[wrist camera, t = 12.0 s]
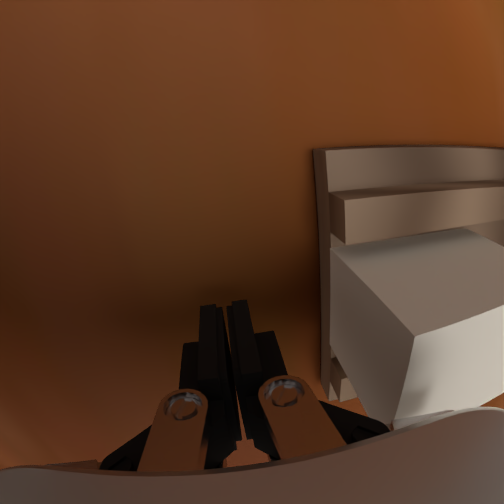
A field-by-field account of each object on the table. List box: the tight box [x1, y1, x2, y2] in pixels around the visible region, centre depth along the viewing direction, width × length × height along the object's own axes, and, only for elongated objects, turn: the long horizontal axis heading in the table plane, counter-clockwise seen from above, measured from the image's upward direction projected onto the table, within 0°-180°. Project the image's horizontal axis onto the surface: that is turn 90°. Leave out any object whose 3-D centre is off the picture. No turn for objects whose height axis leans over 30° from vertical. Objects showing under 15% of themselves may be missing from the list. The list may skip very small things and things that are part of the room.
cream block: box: [330, 228, 504, 424], centre depth 10 cm, size 7×4×6 cm, turn 96°
